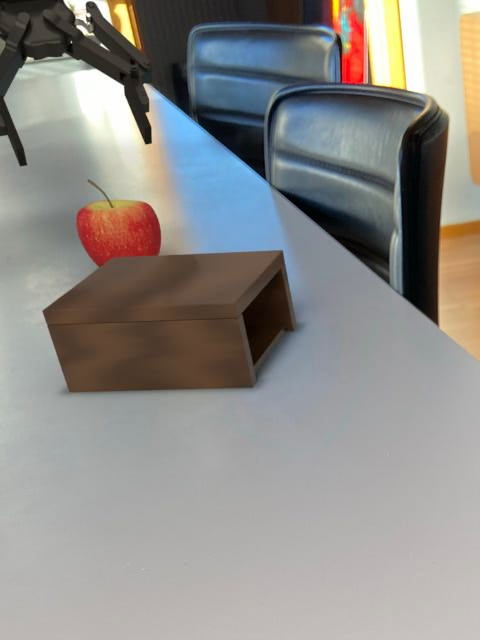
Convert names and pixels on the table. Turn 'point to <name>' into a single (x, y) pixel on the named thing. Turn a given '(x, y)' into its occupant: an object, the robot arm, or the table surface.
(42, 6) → the robot arm
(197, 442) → the table surface
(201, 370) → the shelf
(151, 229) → the apple
